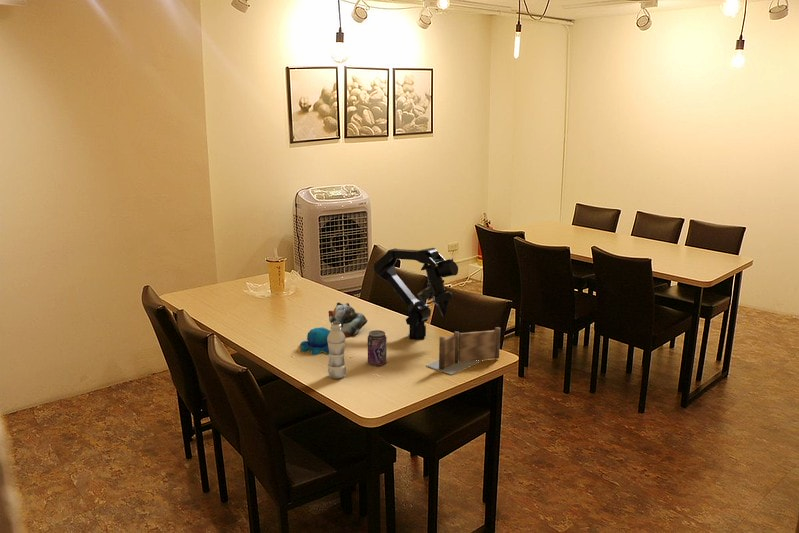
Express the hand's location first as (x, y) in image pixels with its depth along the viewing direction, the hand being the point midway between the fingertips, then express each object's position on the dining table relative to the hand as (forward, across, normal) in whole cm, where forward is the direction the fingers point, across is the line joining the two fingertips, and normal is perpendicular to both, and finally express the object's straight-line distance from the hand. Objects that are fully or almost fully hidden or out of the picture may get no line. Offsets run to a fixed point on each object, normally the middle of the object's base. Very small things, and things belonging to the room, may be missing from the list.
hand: (444, 316), depth 256 cm
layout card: (+16, +16, -2) cm, 23 cm away
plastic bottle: (+8, +21, -49) cm, 54 cm away
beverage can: (+9, +12, -33) cm, 36 cm away
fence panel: (+17, +18, +5) cm, 25 cm away
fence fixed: (+15, +20, -8) cm, 26 cm away
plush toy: (0, -9, -50) cm, 51 cm away
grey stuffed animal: (-1, -25, -37) cm, 44 cm away
